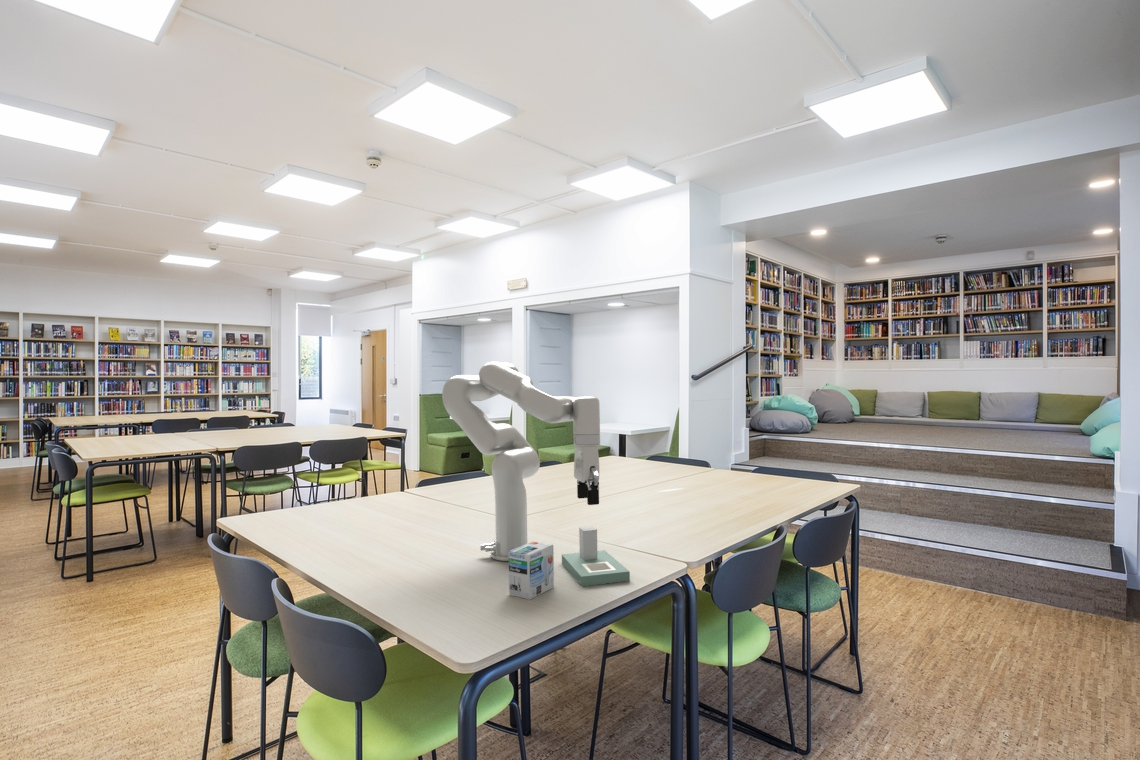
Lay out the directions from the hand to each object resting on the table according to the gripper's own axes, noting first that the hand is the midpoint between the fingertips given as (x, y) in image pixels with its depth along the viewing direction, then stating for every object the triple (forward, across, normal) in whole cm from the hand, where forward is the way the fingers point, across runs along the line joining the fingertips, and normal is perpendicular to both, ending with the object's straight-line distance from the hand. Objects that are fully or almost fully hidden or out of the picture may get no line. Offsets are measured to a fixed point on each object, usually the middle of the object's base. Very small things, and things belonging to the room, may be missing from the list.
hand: (587, 501), depth 158 cm
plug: (+16, 0, 0) cm, 16 cm away
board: (+18, +5, 0) cm, 19 cm away
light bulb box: (+18, +14, -19) cm, 30 cm away
